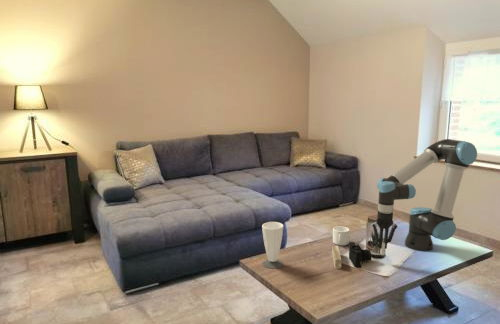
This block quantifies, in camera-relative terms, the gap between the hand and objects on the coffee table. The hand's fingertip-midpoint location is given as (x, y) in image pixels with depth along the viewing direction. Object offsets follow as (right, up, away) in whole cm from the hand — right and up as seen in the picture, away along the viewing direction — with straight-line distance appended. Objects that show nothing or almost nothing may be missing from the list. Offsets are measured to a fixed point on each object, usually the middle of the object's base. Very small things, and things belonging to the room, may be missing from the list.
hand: (382, 254), depth 197 cm
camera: (-11, -5, +2) cm, 12 cm away
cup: (-58, -6, +2) cm, 58 cm away
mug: (-15, -1, +27) cm, 31 cm away
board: (-23, -5, +4) cm, 24 cm away
